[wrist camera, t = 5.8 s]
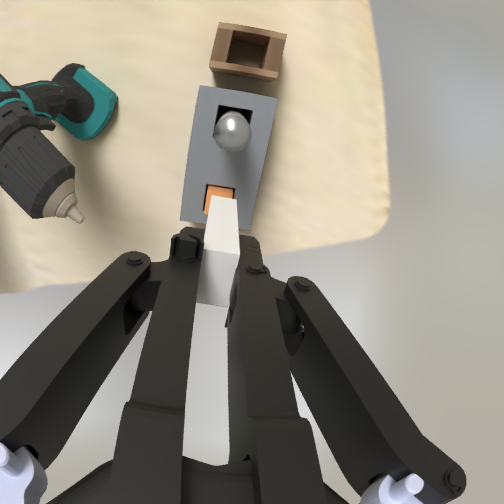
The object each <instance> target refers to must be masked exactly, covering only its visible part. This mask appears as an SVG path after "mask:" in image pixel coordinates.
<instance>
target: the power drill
mask: <svg viewBox="0 0 504 504" xmlns="http://www.w3.org/2000/svg"><path fill="white" fill-rule="evenodd" d="M117 99H118V97H117V95H116V94H115V93H114V92H113V91H112V90H111V89H110V88H108V87H107V86H106V85H105V84H103V83H102V82H101V81H100V80H98V79H97V78H96V77H95V76H93V75H92V74H91V73H89V72H88V71H87V70H86V69H85V66H83V65H80V64H75V63H72V64H69V65H66V66H65V67H64V68H63V69H61V70H60V71H59V72H58V73H57V74H56V75H55V77H54V78H53V79H52V81H37V82H32V83H28V84H24V85H21V86H12V85H11V84H10V83H9V82H8V81H7V80H6V79H5V78H4V77H3V76H2V75H1V74H0V186H1V187H2V188H3V189H4V190H5V191H6V192H7V193H8V194H9V195H10V196H11V198H12V199H13V200H14V201H15V202H16V203H17V204H18V205H19V206H20V207H21V208H22V209H23V210H24V211H25V212H26V213H27V214H28V215H29V216H30V217H31V218H32V219H35V218H36V219H38V218H44V217H54V216H57V217H61V218H66V217H67V216H68V217H70V218H71V219H73V220H74V221H76V222H77V223H79V224H81V223H82V222H83V220H84V216H83V215H82V214H81V212H80V211H79V209H78V208H77V206H76V204H77V198H76V194H75V182H74V179H75V167H74V166H73V165H72V164H71V163H70V162H69V161H68V160H67V159H66V158H65V157H64V156H63V155H62V154H61V153H60V152H59V151H58V150H57V149H56V147H55V146H54V145H53V144H52V143H51V142H50V141H49V140H48V139H47V138H46V137H45V136H44V135H43V134H42V133H41V131H40V130H50V131H53V130H54V129H55V127H56V126H55V124H54V123H53V122H51V120H53V119H55V120H56V121H58V122H59V123H60V124H61V125H62V126H63V127H64V128H66V129H67V130H68V131H69V132H70V133H71V134H73V135H74V136H75V137H76V138H77V139H80V140H90V139H92V138H94V137H95V136H96V135H97V134H98V133H100V132H101V130H102V129H103V128H104V127H105V126H106V124H107V122H108V121H109V119H110V117H111V115H112V112H113V110H114V104H116V101H117Z"/></svg>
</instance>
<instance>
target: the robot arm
mask: <svg viewBox="0 0 504 504" xmlns="http://www.w3.org/2000/svg"><path fill="white" fill-rule="evenodd" d="M229 300H230V306H229V310H228V314H227V319H226V324H225V327H227V328H228V401H229V402H228V404H229V442H230V454H229V461H228V464H226V465H220V466H213V465H210V464H206V463H203V462H200V461H197V460H194V459H191V458H188V457H185V456H182V450H183V433H184V419H185V402H186V390H187V379H188V368H189V358H190V349H191V339H192V331H193V322H194V313H195V305H196V303H202V304H209V305H216V306H223V307H228V304H229ZM149 311H153V312H152V315H151V319H150V322H149V326H148V330H147V333H146V337H145V340H144V344H143V348H142V352H141V356H140V360H139V364H138V368H137V373H136V376H135V381H134V385H133V389H132V394H131V398H130V400H129V402H126V403H125V405H124V408H123V412H122V417H121V421H120V426H119V431H118V436H117V441H116V447H115V452H114V458H113V460H111V461H108V462H106V463H104V464H102V465H100V466H99V467H97V468H96V469H95V470H93V471H92V472H91V473H89V474H88V475H86V476H85V477H84V478H82V479H81V480H80V481H78V482H77V483H76V484H74V485H73V486H71V487H70V488H68V489H67V490H66V491H64V492H63V493H61V494H60V495H58V496H57V497H55V498H54V499H53V500H51V501H49V502H48V503H46V504H349V503H348V502H347V501H345V500H344V499H343V498H342V497H341V496H339V495H338V494H337V493H336V492H335V491H334V490H332V489H331V488H330V487H329V486H328V485H327V484H325V483H324V482H323V479H322V474H321V469H320V464H319V460H318V455H317V450H316V445H315V440H314V436H313V431H312V427H311V424H310V422H309V421H308V420H307V419H306V418H302V417H300V415H299V412H298V408H297V402H296V398H295V392H294V387H293V382H292V377H291V373H292V375H293V377H294V378H295V381H296V383H297V385H298V387H299V389H300V391H301V393H302V395H303V397H304V399H305V401H306V403H307V405H308V407H309V409H310V411H311V413H312V415H313V417H314V419H315V421H316V423H317V425H318V427H319V428H320V430H321V432H322V434H323V436H324V438H325V440H326V442H327V444H328V446H329V448H330V450H331V452H332V454H333V456H334V458H335V460H336V462H337V463H338V465H339V467H340V469H341V471H342V473H343V474H344V476H345V478H346V479H347V481H348V482H349V484H350V485H351V486H352V488H353V489H354V490H355V491H356V492H357V494H359V495H360V496H361V502H360V503H359V504H446V503H448V502H450V501H451V500H454V499H456V498H457V497H459V496H461V494H462V493H463V492H464V490H465V487H466V475H465V473H464V470H463V469H462V468H461V467H460V466H459V465H458V464H457V463H456V462H454V461H453V460H452V459H451V458H450V457H448V456H447V455H446V454H445V453H444V452H442V451H441V450H440V449H439V448H438V447H436V446H435V445H434V444H433V443H432V442H430V441H429V440H428V439H427V438H426V437H424V436H423V435H422V433H421V432H420V431H419V429H418V428H417V426H416V425H415V423H414V422H413V420H412V419H411V417H410V416H409V414H408V413H407V411H406V410H405V409H404V407H403V405H402V404H401V403H400V401H399V400H398V398H397V397H396V395H395V394H394V392H393V391H392V389H391V388H390V387H389V385H388V384H387V382H386V381H385V379H384V378H383V376H382V375H381V374H380V372H379V371H378V369H377V368H376V367H375V365H374V364H373V362H372V361H371V360H370V358H369V357H368V355H367V354H366V353H365V351H364V350H363V348H362V347H361V346H360V344H359V343H358V342H357V340H356V339H355V337H354V336H353V335H352V333H351V332H350V330H349V329H348V328H347V326H346V325H345V324H344V322H343V321H342V320H341V318H340V317H339V315H338V314H337V313H336V311H335V310H334V309H333V307H332V306H331V305H330V303H329V302H328V301H327V299H326V298H325V297H324V295H323V294H322V293H321V291H320V290H319V289H318V287H317V286H316V285H315V284H314V283H313V282H312V281H310V280H308V279H307V278H304V277H299V276H294V277H290V278H289V279H288V281H287V283H285V282H282V281H279V280H277V279H274V278H272V277H271V275H270V271H269V269H268V268H267V267H266V266H265V265H263V260H262V255H261V250H260V245H259V242H258V241H257V240H256V239H255V237H250V236H245V235H239V232H238V216H237V200H236V199H231V198H225V197H220V196H214V195H212V196H211V201H210V207H209V212H208V218H207V224H206V230H205V229H198V228H192V227H185V228H183V229H182V230H181V231H180V233H179V234H176V235H174V236H173V237H172V238H171V248H170V257H169V259H168V260H166V261H162V262H151V260H150V257H149V256H148V255H146V254H144V253H141V252H137V251H131V252H127V253H124V254H122V255H121V256H119V257H118V258H117V259H116V260H115V261H114V262H113V263H112V264H111V265H110V266H108V267H107V268H106V269H105V270H104V271H103V272H102V273H101V274H100V275H99V276H98V277H97V278H96V279H94V280H93V281H92V282H91V283H90V284H89V285H88V286H87V287H86V288H85V289H84V290H83V291H82V292H81V293H80V294H79V295H78V296H77V297H76V298H75V299H74V300H73V301H72V302H71V303H70V304H69V305H68V306H67V307H66V308H65V309H64V310H63V311H62V312H61V313H60V314H59V315H58V316H57V317H56V318H55V319H54V320H53V321H52V322H51V323H50V324H49V325H48V326H47V327H46V328H45V330H44V331H43V332H42V333H41V334H40V335H39V336H38V337H37V338H36V339H35V340H34V341H33V342H32V344H31V345H30V346H29V347H28V348H27V349H26V350H25V351H24V353H23V354H22V355H21V356H20V357H19V358H18V359H17V361H16V362H15V363H14V364H13V365H12V366H11V368H10V369H9V370H8V371H7V372H6V374H5V375H4V376H3V377H2V378H1V380H0V504H39V502H40V498H41V497H42V495H43V494H44V492H45V491H46V488H47V476H46V473H45V471H44V470H46V469H47V468H48V467H49V466H50V464H51V463H52V462H53V461H54V460H55V459H56V458H57V456H58V455H59V453H60V452H61V450H62V449H63V447H64V445H65V444H66V442H67V440H68V439H69V437H70V435H71V433H72V432H73V430H74V429H75V427H76V425H77V424H78V422H79V420H80V419H81V417H82V415H83V413H84V412H85V410H86V409H87V407H88V406H89V404H90V402H91V401H92V399H93V397H94V396H95V394H96V393H97V391H98V390H99V388H100V386H101V385H102V383H103V382H104V380H105V379H106V377H107V375H108V374H109V373H110V371H111V370H112V368H113V367H114V365H115V364H116V362H117V360H118V359H119V358H120V356H121V354H122V353H123V352H124V350H125V348H126V347H127V345H128V344H129V343H130V341H131V340H132V338H133V337H134V335H135V334H136V332H137V331H138V329H139V328H140V326H141V325H142V324H143V322H144V321H145V319H146V318H147V316H148V314H149ZM303 326H304V328H303ZM290 371H291V372H290Z"/></svg>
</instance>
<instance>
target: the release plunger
mask: <svg viewBox="0 0 504 504" xmlns="http://www.w3.org/2000/svg"><path fill="white" fill-rule="evenodd" d="M212 195H214V196H220V197H225V198H231V199H232V196H233V188H231V187H224V186H218V185H211V184H209V186H208V190H207V197H206V203H205V210H204V214H208V212H209V207H210V201H211V196H212Z"/></svg>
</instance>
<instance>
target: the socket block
mask: <svg viewBox="0 0 504 504" xmlns="http://www.w3.org/2000/svg"><path fill="white" fill-rule="evenodd" d="M277 102H278V99H277V98H273V97H268V96H263V95H258V94H253V93H248V92H242V91H236V90H230V89H223V88H216V87H209V86H201V85H200V87H199V92H198V97H197V103H196V108H195V114H194V120H193V126H192V132H191V138H190V144H189V151H188V158H187V165H186V172H185V180H184V188H183V196H182V205H181V214H180V221H187V222H194V223H201V224H207V218H208V214H204V210H205V203H206V197H207V188H208V184H211V185H218V186H224V187H231V188H233V196H232V199H236V200H237V216H238V229H242V230H248V231H249V229H250V225H251V220H252V215H253V211H254V206H255V201H256V197H257V192H258V188H259V183H260V179H261V174H262V169H263V165H264V160H265V156H266V151H267V147H268V142H269V138H270V133H271V129H272V124H273V120H274V115H275V111H276V106H277ZM220 105H224V106H230V107H236V108H242V109H248V110H249V114H248V119H247V122H248V123H249V125H250V127H251V131H252V136H251V140H250V142H249V144H248V145H247V146H246V147H245V148H244V149H242V150H240V151H237V152H228V151H225V150H223V149H221V148H220V147H219V146H218V145H217V144H216V142H215V140H214V136H213V132H214V128H215V126H216V124H217V120H218V115H219V110H220Z"/></svg>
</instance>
